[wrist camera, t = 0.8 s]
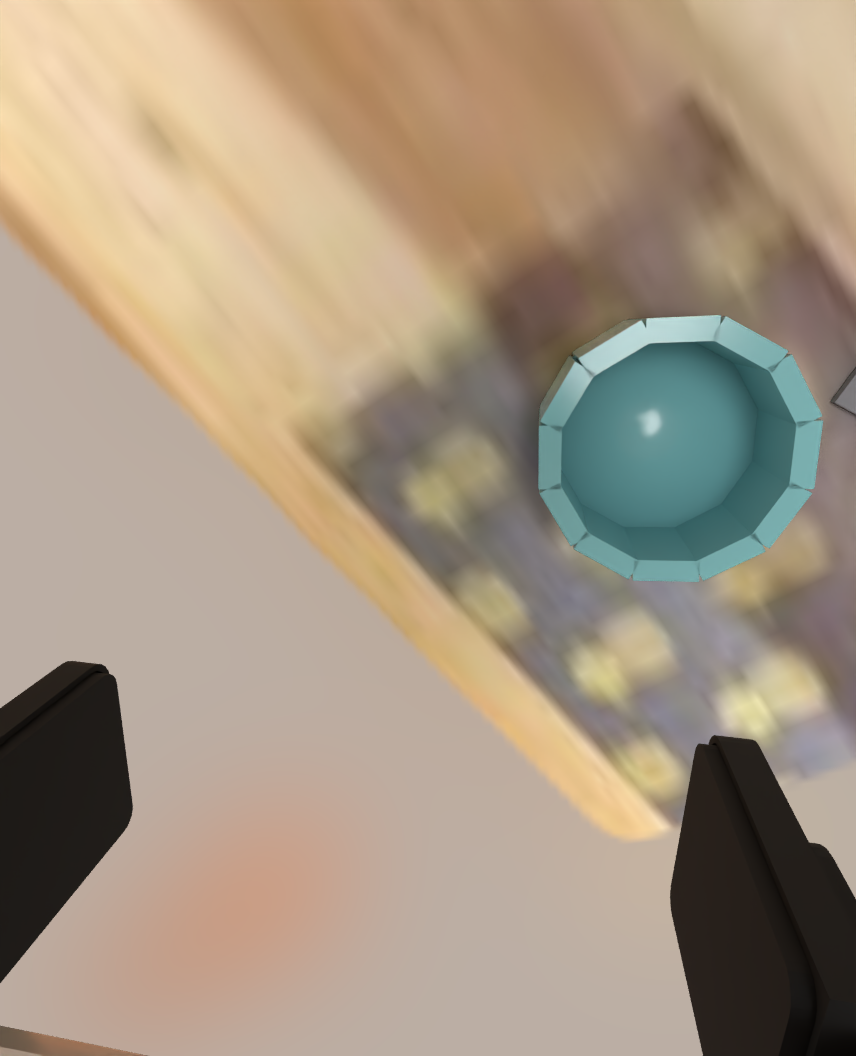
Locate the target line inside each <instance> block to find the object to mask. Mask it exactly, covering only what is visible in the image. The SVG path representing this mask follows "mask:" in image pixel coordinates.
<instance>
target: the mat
mask: <svg viewBox="0 0 856 1056" xmlns="http://www.w3.org/2000/svg"><path fill="white" fill-rule="evenodd" d="M831 402H833V403H835V404H836V405H838V406H840V407H842V408H844V409H845V410H847V411H849V412H851V413H853V414H854V415H856V368H855V369H854V371H853V372H852V373H851V375H850V376H849V377H848V379H847V380H846V381H845V383H844V384H843V385H842V387H841V388H840V389H839V391H838V392H837V393H836V395H835V396H834V397H833V399H832V400H831Z"/></svg>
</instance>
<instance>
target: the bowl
mask: <svg viewBox="0 0 856 1056" xmlns="http://www.w3.org/2000/svg"><path fill="white" fill-rule="evenodd" d="M787 352H788V350H786V349H784V348H782V347H780V346H779V345H777V344H775V343H773V342H771V341H770V340H768V339H766V338H764V337H762V336H761V335H759V334H757V333H755V332H753V331H752V330H750V329H748V328H746V327H744V326H743V325H741V324H739V323H737V322H735V321H734V320H732V319H730V318H728V317H726V316H721V315H712V316H688V317H665V318H642V319H628V320H624V321H622V322H621V323H619V324H617V325H616V326H614V327H612V328H611V329H609V330H607V331H606V332H604V333H603V334H601V335H599V336H598V337H596V338H594V339H593V340H591V341H589V342H588V343H586V344H585V345H583V346H581V347H580V348H578V349H576V350H575V351H573V352H572V353H573V355H574V356H573V357H571V356H570V355H569V356H568V358H567V360H566V361H565V363H564V365H563V366H562V368H561V370H560V372H559V373H558V375H557V377H556V379H555V380H554V382H553V384H552V385H551V387H550V389H549V391H548V392H547V394H546V396H545V398H544V399H543V401H542V403H541V404H540V409H539V472H538V489H540V495H541V497H542V499H543V500H544V502H545V504H546V505H547V507H548V509H549V510H550V512H551V514H552V515H553V517H554V519H555V520H556V522H557V524H558V525H559V527H560V529H561V531H562V532H563V534H564V536H565V537H566V539H567V541H568V542H569V544H570V546H572V545H573V547H574V549H575V550H576V551H578V552H580V553H582V554H584V555H585V556H587V557H589V558H591V559H593V560H594V561H596V562H598V563H600V564H602V565H603V566H605V567H607V568H609V569H611V570H613V571H614V572H616V573H618V574H620V575H622V576H623V577H625V578H627V579H629V578H630V576H631V577H632V580H634V581H684V582H699V575H700V577H701V578H702V580H703V581H704V580H706V579H708V578H710V577H712V576H715V575H717V574H719V573H721V572H723V571H725V570H727V569H729V568H732V567H734V566H736V565H738V564H740V563H742V562H744V561H746V560H749V559H751V558H753V557H755V556H757V555H759V554H761V553H763V552H766V551H765V549H764V548H763V546H762V545H764V546H766V547H768V548H770V547H771V546H772V544H773V543H774V542H775V541H776V539H777V538H778V537H779V535H780V534H781V533H782V532H783V530H784V529H785V528H786V526H787V525H788V524H789V523H790V521H791V520H792V519H793V517H794V516H795V515H796V513H797V512H798V511H799V510H800V508H801V507H802V506H803V504H804V503H805V502H806V501H807V499H808V498H809V497H810V495H811V494H812V493H811V492H809V491H808V490H806V489H814V486H815V478H816V470H817V463H818V455H819V448H820V440H821V433H822V425H823V420H820V419H817V418H819V417H821V416H822V414H821V412H820V410H819V408H818V406H817V404H816V402H815V400H814V398H813V396H812V394H811V392H810V390H809V388H808V386H807V384H806V382H805V380H804V378H803V376H802V374H801V372H800V370H799V368H798V366H797V364H796V362H795V360H794V358H793V356H792V354H787Z"/></svg>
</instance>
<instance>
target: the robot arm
mask: <svg viewBox="0 0 856 1056" xmlns="http://www.w3.org/2000/svg"><path fill="white" fill-rule="evenodd" d="M132 810H133V805H132V796H131V789H130V781H129V773H128V766H127V758H126V750H125V743H124V735H123V727H122V720H121V712H120V704H119V696H118V689H117V682H116V679H115V677H114V676H113V675H111V674H109V671H108V670H107V668H106V667H105V666H103V665H102V664H93V663H85V662H76V661H67V662H65V663H63V664H61V665H60V666H59V667H57V668H56V669H55V670H53V671H52V672H50V673H49V674H47V675H46V676H45V677H43V678H42V679H40V680H39V681H38V682H36V683H35V684H34V685H32V686H31V687H29V688H28V689H27V690H25V691H24V692H22V693H21V694H20V695H18V696H17V697H15V698H14V699H13V700H11V701H10V702H9V703H7V704H6V705H4V706H3V707H2V708H0V983H1V982H2V980H3V979H4V978H5V977H6V976H7V974H8V973H9V972H10V971H11V969H12V968H13V967H14V966H15V965H16V963H17V962H18V961H19V960H20V958H21V957H22V956H23V955H24V953H25V952H26V951H27V950H28V949H29V947H30V946H31V945H32V943H33V942H34V941H35V940H36V939H37V938H38V936H39V935H40V934H41V933H42V931H43V930H44V929H45V928H46V926H47V925H48V924H49V922H51V920H52V919H53V918H54V917H55V915H56V914H57V913H58V912H59V911H60V909H61V908H62V907H63V906H64V904H65V903H66V902H67V901H68V899H69V898H70V897H71V896H72V895H73V893H74V892H75V891H76V890H77V888H78V887H79V886H80V885H81V883H82V882H83V881H84V880H85V879H86V877H87V876H88V875H89V874H90V872H91V871H92V870H93V869H94V868H95V866H96V865H97V864H98V863H99V861H100V860H101V859H102V858H103V857H104V855H105V854H106V852H108V850H109V849H110V848H111V847H112V845H113V844H114V843H115V842H116V841H117V839H118V838H119V837H120V836H121V834H122V833H123V832H124V831H125V829H126V828H127V826H128V824H129V821H130V819H131V816H132ZM670 900H671V912H672V917H673V922H674V926H675V931H676V935H677V940H678V944H679V949H680V953H681V957H682V962H683V967H684V971H685V976H686V980H687V985H688V989H689V994H690V998H691V1002H692V1007H693V1012H694V1016H695V1021H696V1025H697V1030H698V1034H699V1039H700V1043H701V1048H702V1052H703V1056H856V899H855V897H854V895H853V893H852V892H851V890H850V888H849V886H848V884H847V882H846V881H845V879H844V877H843V875H842V873H841V871H840V870H839V868H838V866H837V864H836V862H835V860H834V859H833V857H832V856H831V854H830V853H829V851H828V850H827V849H826V848H825V847H823V846H822V845H820V844H816V843H809V842H808V840H807V838H806V836H805V834H804V832H803V830H802V828H801V826H800V824H799V822H798V821H797V819H796V817H795V815H794V813H793V811H792V809H791V807H790V805H789V803H788V801H787V799H786V797H785V795H784V793H783V791H782V790H781V788H780V786H779V784H778V782H777V780H776V778H775V776H774V774H773V772H772V770H771V768H770V766H769V764H768V762H767V760H766V758H765V757H764V755H763V753H762V751H761V749H760V747H759V745H758V744H757V742H756V741H754V740H751V739H742V738H733V737H725V736H716V735H714V736H712V737H711V739H710V741H709V745H707V744H698V745H697V747H696V750H695V754H694V760H693V766H692V771H691V777H690V782H689V788H688V793H687V799H686V805H685V810H684V816H683V821H682V827H681V832H680V838H679V844H678V849H677V855H676V861H675V866H674V872H673V878H672V883H671V891H670ZM0 1056H147V1055H142V1054H137V1053H132V1052H128V1051H123V1050H117V1049H112V1048H108V1047H103V1046H98V1045H93V1044H89V1043H83V1042H79V1041H74V1040H69V1039H64V1038H59V1037H54V1036H49V1035H44V1034H39V1033H34V1032H29V1031H24V1030H19V1029H14V1028H9V1027H4V1026H0Z"/></svg>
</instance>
